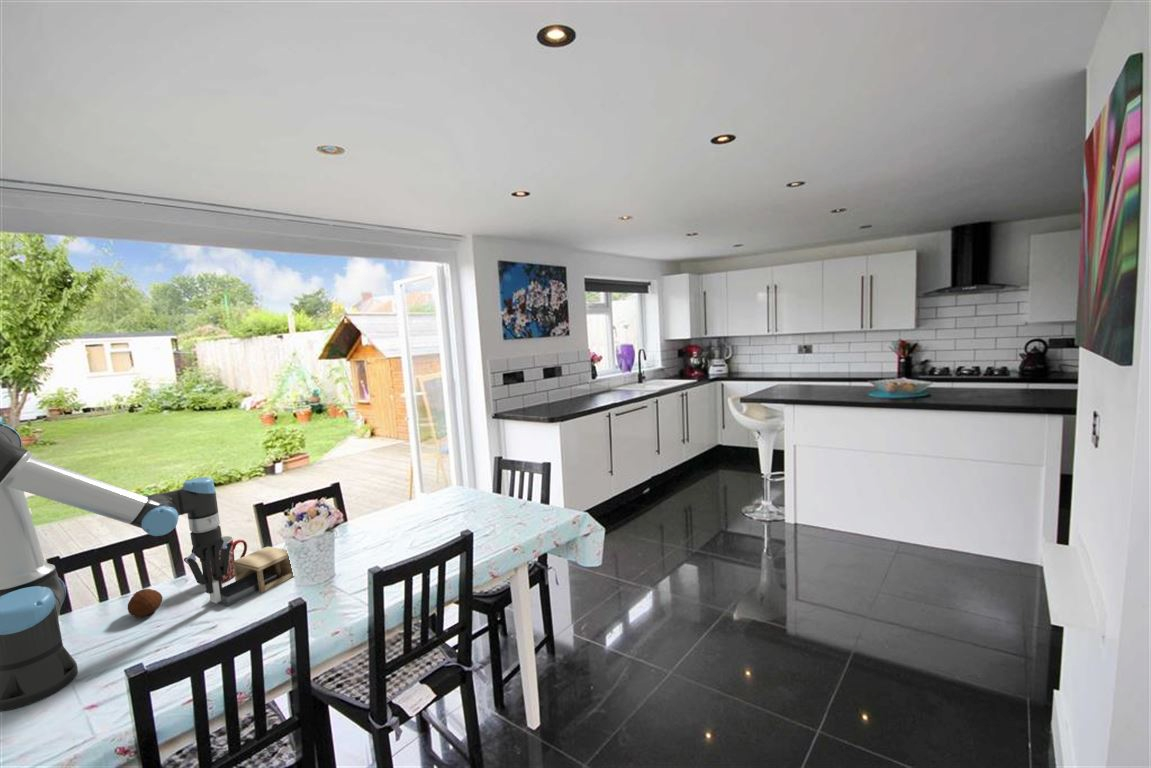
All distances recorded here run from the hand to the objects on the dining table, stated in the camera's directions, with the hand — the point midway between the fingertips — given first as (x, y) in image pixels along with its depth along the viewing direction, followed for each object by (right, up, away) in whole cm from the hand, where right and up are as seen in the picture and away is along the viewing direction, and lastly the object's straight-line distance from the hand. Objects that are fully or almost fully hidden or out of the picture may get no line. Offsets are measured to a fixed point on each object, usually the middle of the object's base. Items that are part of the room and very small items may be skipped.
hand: (216, 600), depth 158 cm
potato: (-20, -3, -2) cm, 20 cm away
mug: (-9, 0, +19) cm, 21 cm away
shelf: (+7, +1, +14) cm, 16 cm away
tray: (+4, -1, +8) cm, 9 cm away
